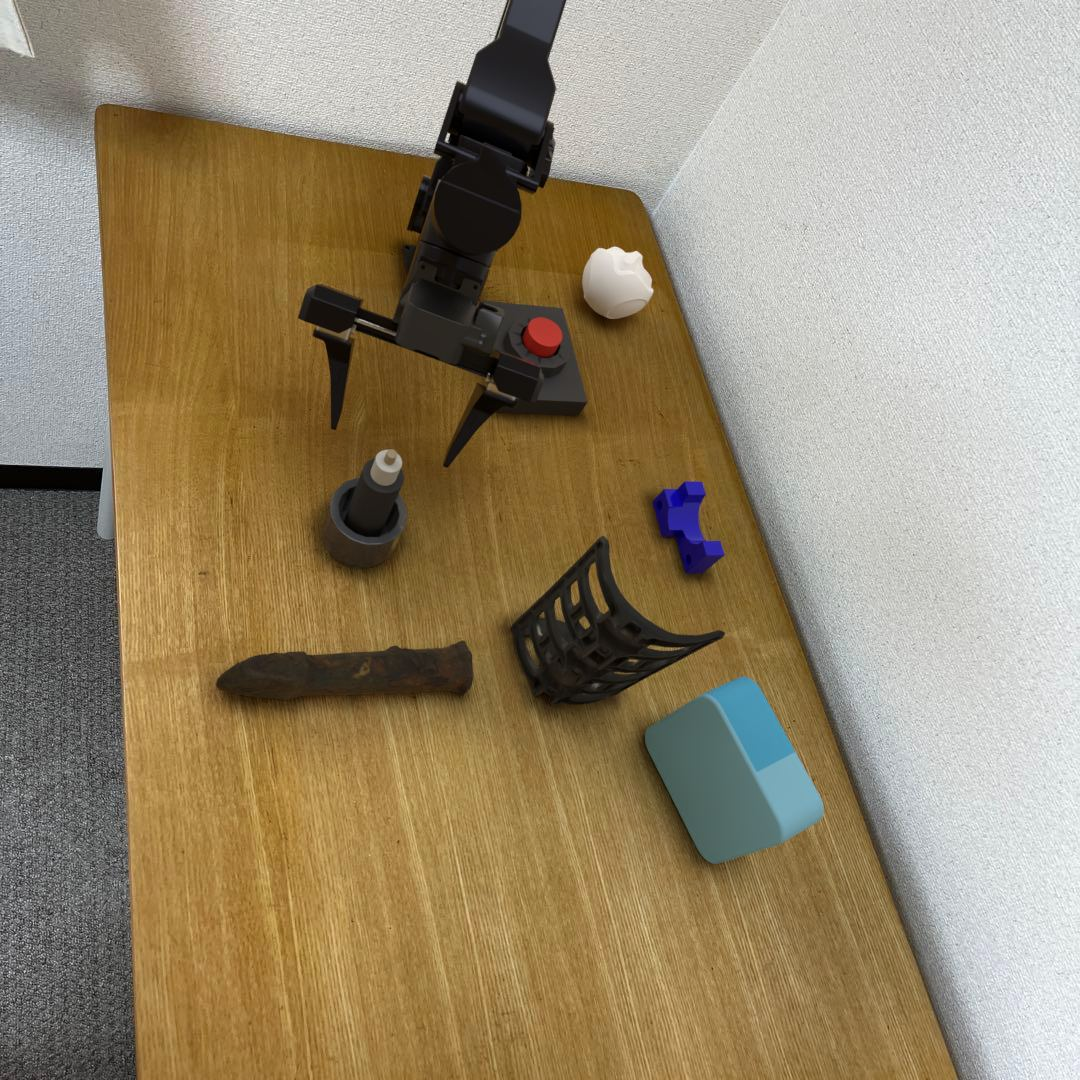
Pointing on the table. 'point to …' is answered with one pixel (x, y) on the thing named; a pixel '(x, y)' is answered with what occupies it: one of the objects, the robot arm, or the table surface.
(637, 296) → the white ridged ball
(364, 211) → the table surface
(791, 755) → the data package
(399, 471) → the capped grey cylinder
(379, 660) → the hand tool
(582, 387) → the switch box
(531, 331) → the power button
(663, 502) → the cable holder
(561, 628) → the holder
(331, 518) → the iron cup
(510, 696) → the table surface
